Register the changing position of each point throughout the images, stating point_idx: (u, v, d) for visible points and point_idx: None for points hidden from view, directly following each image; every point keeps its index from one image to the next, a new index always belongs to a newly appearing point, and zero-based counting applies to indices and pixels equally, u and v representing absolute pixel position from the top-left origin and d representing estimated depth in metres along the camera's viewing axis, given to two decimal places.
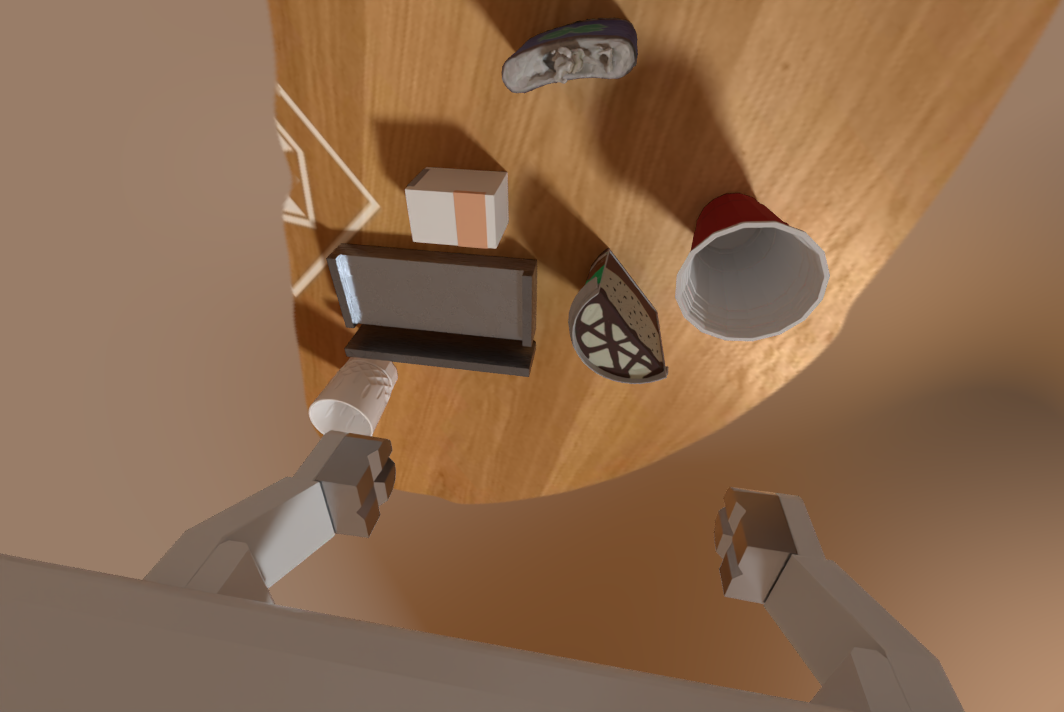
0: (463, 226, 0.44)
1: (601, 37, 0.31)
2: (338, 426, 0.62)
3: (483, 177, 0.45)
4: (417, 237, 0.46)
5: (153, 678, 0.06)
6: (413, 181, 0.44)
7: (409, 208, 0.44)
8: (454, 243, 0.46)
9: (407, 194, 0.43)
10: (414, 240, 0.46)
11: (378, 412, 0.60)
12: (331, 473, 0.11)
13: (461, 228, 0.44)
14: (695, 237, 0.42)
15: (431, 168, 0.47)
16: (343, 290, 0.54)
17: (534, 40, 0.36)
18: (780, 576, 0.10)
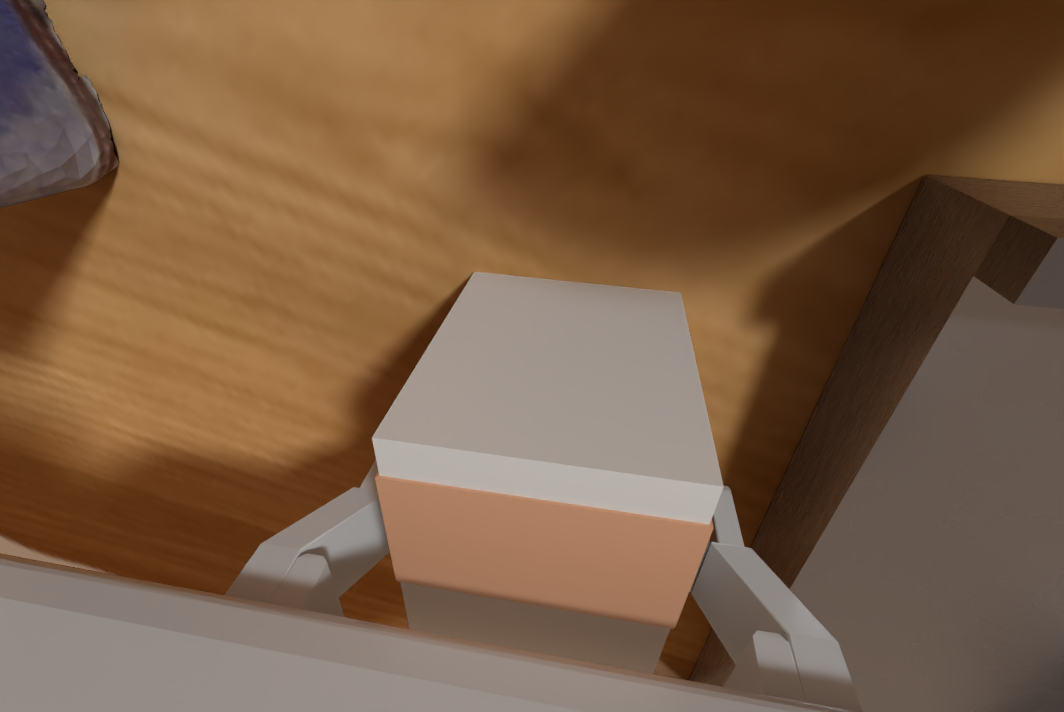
0: (563, 588, 0.08)
1: None
2: None
3: None
4: None
5: (153, 678, 0.06)
6: None
7: None
8: (657, 634, 0.09)
9: None
10: None
11: None
12: None
13: (575, 595, 0.09)
14: None
15: None
16: None
17: None
18: (702, 564, 0.10)
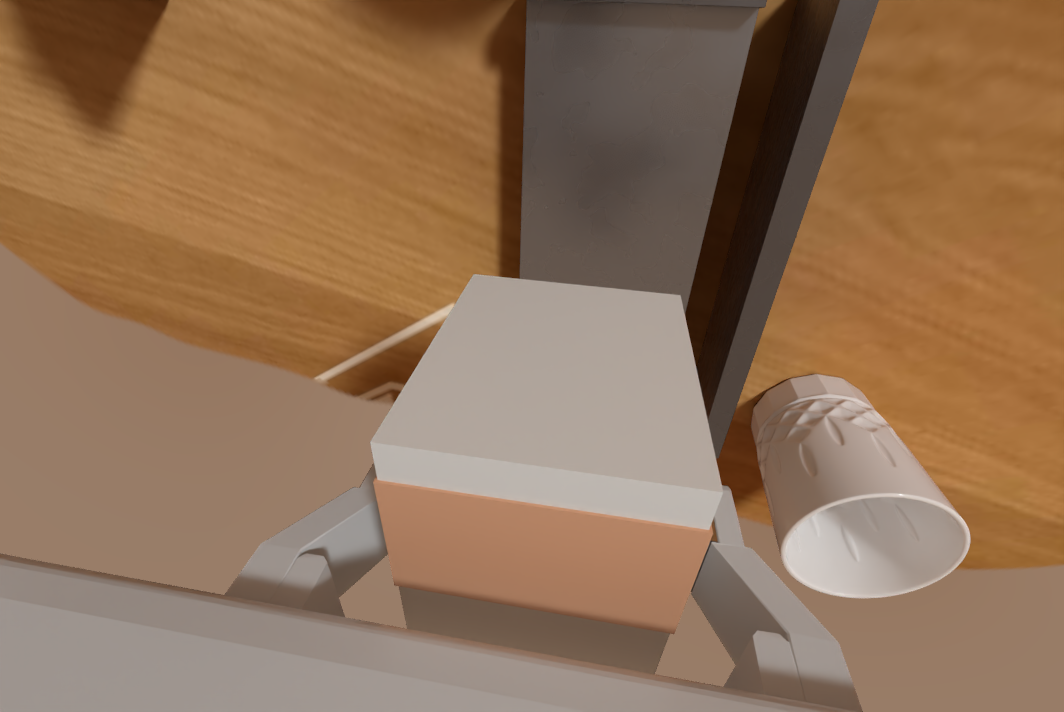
0: (562, 593, 0.08)
1: None
2: (900, 551, 0.26)
3: None
4: None
5: (153, 678, 0.06)
6: None
7: None
8: (656, 639, 0.09)
9: None
10: None
11: (883, 458, 0.23)
12: None
13: (575, 601, 0.09)
14: None
15: None
16: None
17: None
18: (702, 564, 0.10)
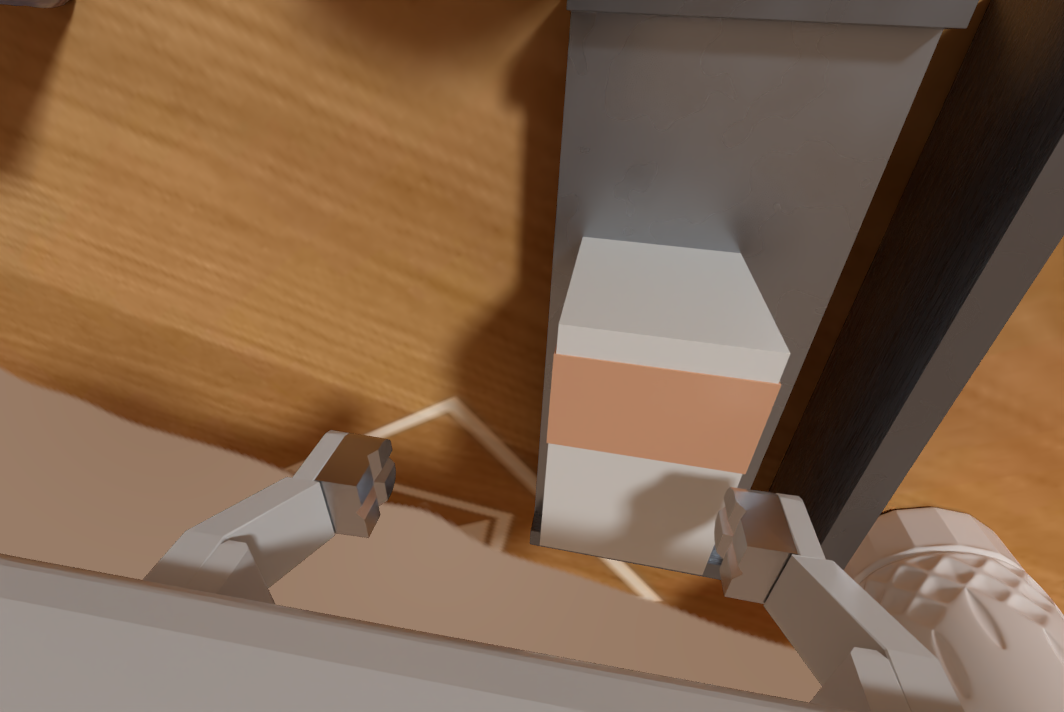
0: (669, 442, 0.12)
1: None
2: None
3: None
4: (689, 562, 0.15)
5: (153, 678, 0.06)
6: None
7: (595, 552, 0.15)
8: (731, 481, 0.13)
9: (554, 543, 0.15)
10: (698, 571, 0.15)
11: None
12: (331, 473, 0.11)
13: (677, 449, 0.12)
14: None
15: None
16: None
17: None
18: (779, 576, 0.10)
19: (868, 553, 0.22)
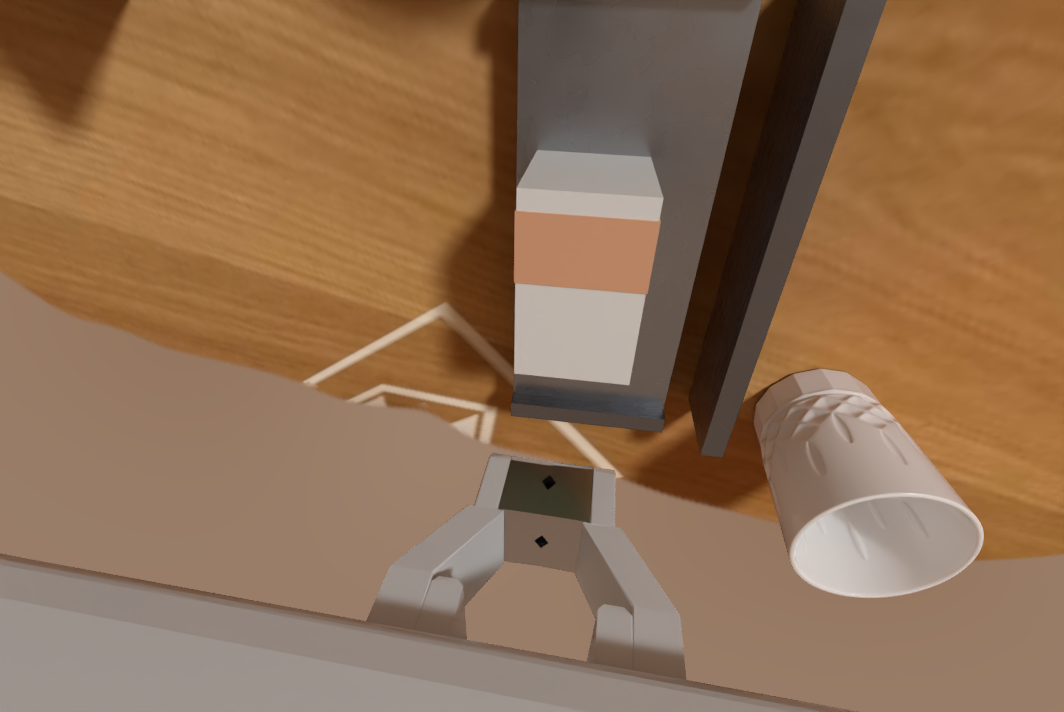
0: (595, 273, 0.18)
1: None
2: (909, 549, 0.25)
3: None
4: (619, 374, 0.21)
5: (153, 678, 0.06)
6: None
7: (553, 374, 0.21)
8: (639, 301, 0.19)
9: (524, 370, 0.21)
10: (626, 381, 0.21)
11: (893, 456, 0.22)
12: (513, 500, 0.10)
13: (601, 279, 0.18)
14: None
15: None
16: (576, 410, 0.29)
17: None
18: (579, 544, 0.10)
19: (772, 406, 0.29)
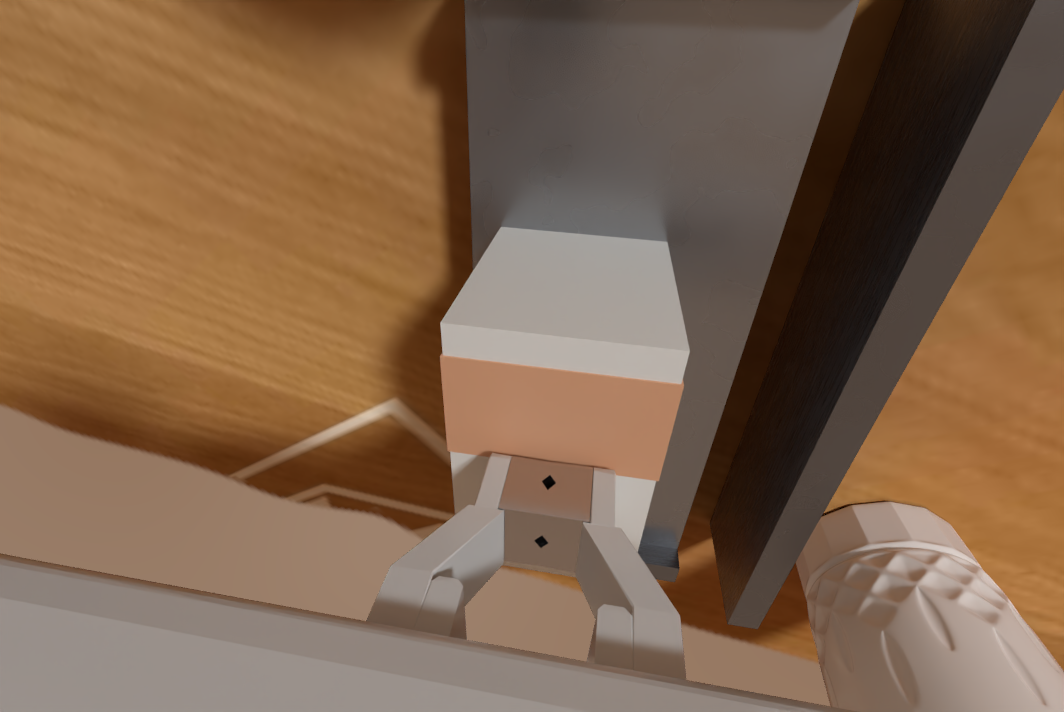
0: (575, 448, 0.11)
1: None
2: None
3: None
4: None
5: (153, 678, 0.06)
6: None
7: (516, 563, 0.14)
8: (646, 488, 0.12)
9: None
10: None
11: (1023, 686, 0.15)
12: (513, 500, 0.10)
13: (585, 456, 0.11)
14: None
15: None
16: None
17: None
18: (579, 544, 0.10)
19: (823, 550, 0.22)
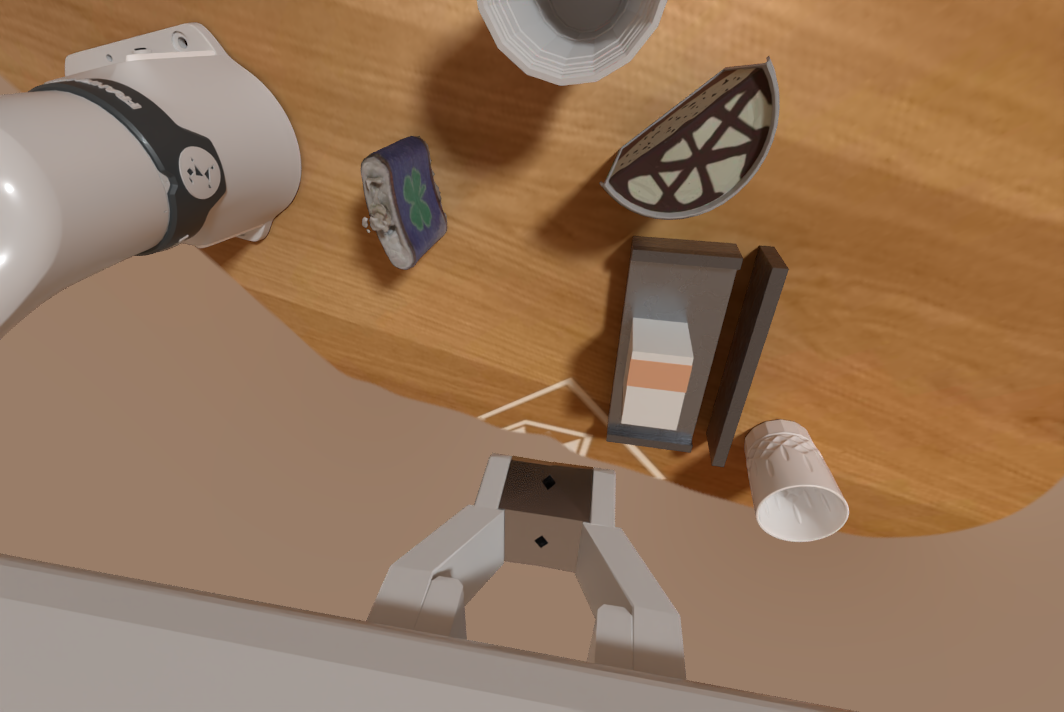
0: (663, 383, 0.42)
1: (363, 187, 0.37)
2: (821, 517, 0.48)
3: (630, 345, 0.46)
4: (671, 425, 0.45)
5: (153, 678, 0.06)
6: (621, 409, 0.47)
7: (640, 424, 0.45)
8: (682, 395, 0.43)
9: (626, 422, 0.45)
10: (674, 428, 0.45)
11: (806, 467, 0.46)
12: (513, 500, 0.10)
13: (665, 386, 0.43)
14: None
15: (623, 383, 0.50)
16: (643, 439, 0.53)
17: None
18: (579, 544, 0.10)
19: (752, 439, 0.52)
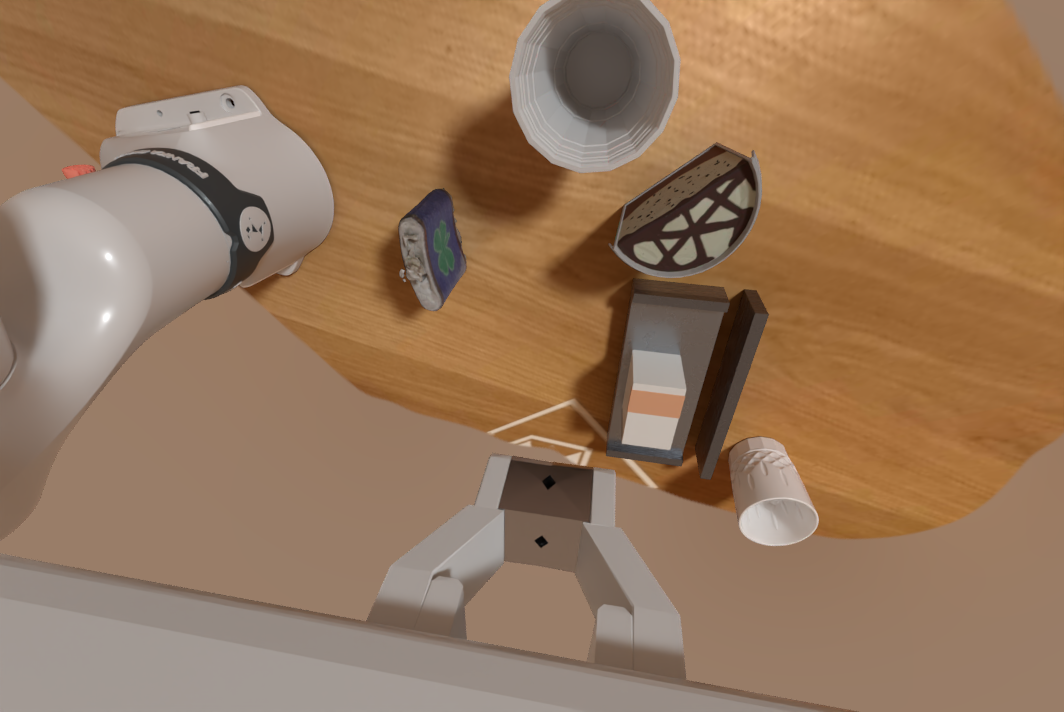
0: (659, 410, 0.48)
1: (400, 241, 0.42)
2: (795, 524, 0.55)
3: (630, 374, 0.51)
4: (666, 446, 0.51)
5: (153, 678, 0.06)
6: (621, 430, 0.53)
7: (638, 444, 0.51)
8: (676, 420, 0.49)
9: (626, 442, 0.51)
10: (668, 448, 0.51)
11: (782, 482, 0.52)
12: (513, 500, 0.10)
13: (661, 412, 0.49)
14: None
15: (622, 405, 0.56)
16: (639, 454, 0.59)
17: None
18: (579, 544, 0.10)
19: (736, 454, 0.59)
